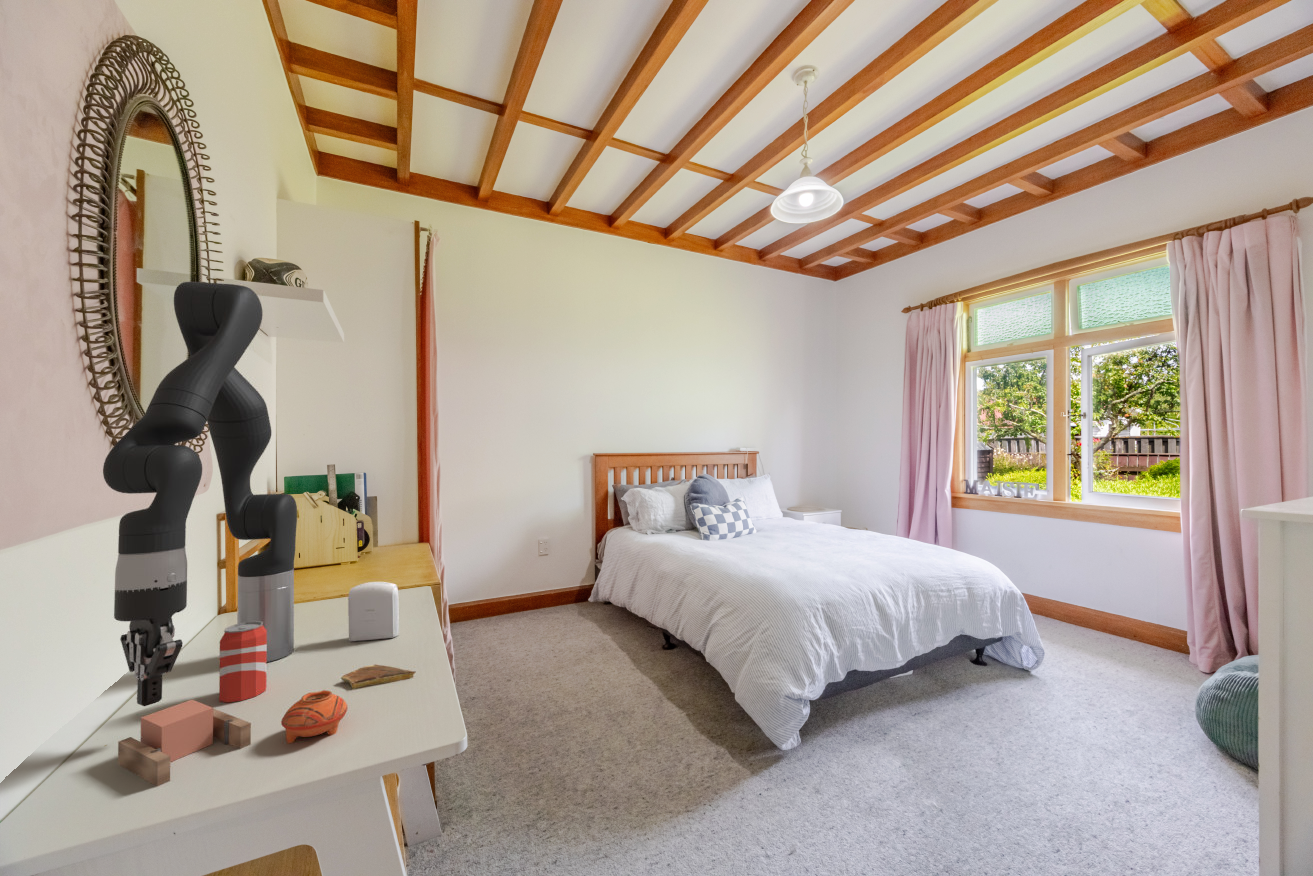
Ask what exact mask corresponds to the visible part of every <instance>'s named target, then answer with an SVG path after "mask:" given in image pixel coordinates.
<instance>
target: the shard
mask: <svg viewBox="0 0 1313 876" xmlns="http://www.w3.org/2000/svg"><path fill="white" fill-rule="evenodd" d="M415 673H416V671H413V670H409V669H408V670H407V669H402V668H399V667H393V666H388V665H382V664H373V665H367V666H363V667H360V668H358V669H356V670H353V671H351V672H348V673H345V674H343V675H342V676H341V678H340V679H341V681H343V682H345V683H347V684H350V686H351V689H352V690H356V689H359V688H363V687H368V686H376V685H379V684H380V685H381V684H388V683H392V682H399V681H404V680H407V679H412V678H414V675H415Z"/></svg>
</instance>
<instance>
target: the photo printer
mask: <svg viewBox="0 0 1313 876" xmlns="http://www.w3.org/2000/svg"><path fill="white" fill-rule="evenodd" d="M348 592H349V593H348V597H347V599H348V600H347V602H348V603H347V605H348V606H347V607H348V608H347V609H348V610H347V611H348V613H347V614H348V640H349V641H348V642H356V641H357V642H359V641H370V640H371V641H372V640H381V639H382V640H383V639H392V638H396V637H397V636H399V634H400V619H399V617H400V616H399V615H400V613H399V611H400V610H399V588H398V585H397V584H395V583H393V582H387V581H369V582H364V583H361V584H358V585H355V586H353V587H352V588H350V589H349V591H348Z"/></svg>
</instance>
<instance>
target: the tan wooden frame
mask: <svg viewBox="0 0 1313 876" xmlns="http://www.w3.org/2000/svg"><path fill="white" fill-rule="evenodd" d="M251 728H252V722H249V721H247V720H244V719H242V718H239V717H237V716H234V715H231V714H229V713H226V712H223V711H220V710H218V709H215V708H213V739H216V740H219V741H221V742H223V745H231V746H233V747H235V748H237V749H240V750H241V749H243V748H246V747H248V746H250V745H251V743H252V741H251V740H252V739H251V738H252V737H251V735H252V734H251V733H252V729H251ZM117 743H118V744H117V746H118V748H117V766H120V767H122V768H124V769H126V770H128V771H129V772H130V773H132V774H134V775H136V776H138V777H140V778H141V779H143V780H145V781H147V782H148V783H150V784H153V785H154V786H156V787H157V788H158V787H159V786H160V787H161V786H162V785H165V784H166V783H169V782H171V762H170V756H168V755H166V754H164V753H162V752H161V749H160V748H159V749H154V748H152V747H150V746H148V745H146V744H144V743H142V742H141V740H138V739H135V738H134V737H131V736H130V737H127V738H124V739H122V740H119V741H117Z"/></svg>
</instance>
